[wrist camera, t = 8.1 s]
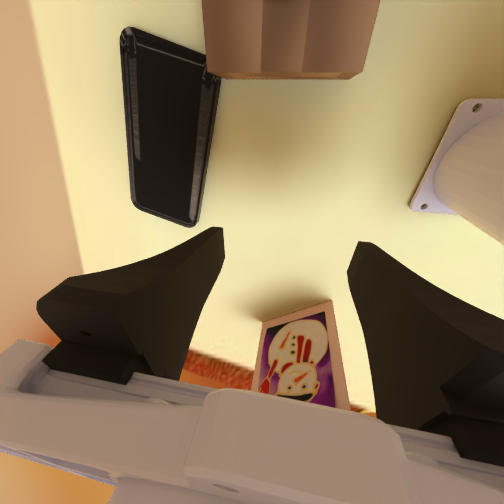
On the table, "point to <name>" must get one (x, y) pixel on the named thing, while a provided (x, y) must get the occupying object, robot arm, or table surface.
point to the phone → (167, 124)
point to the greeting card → (302, 358)
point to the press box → (287, 38)
